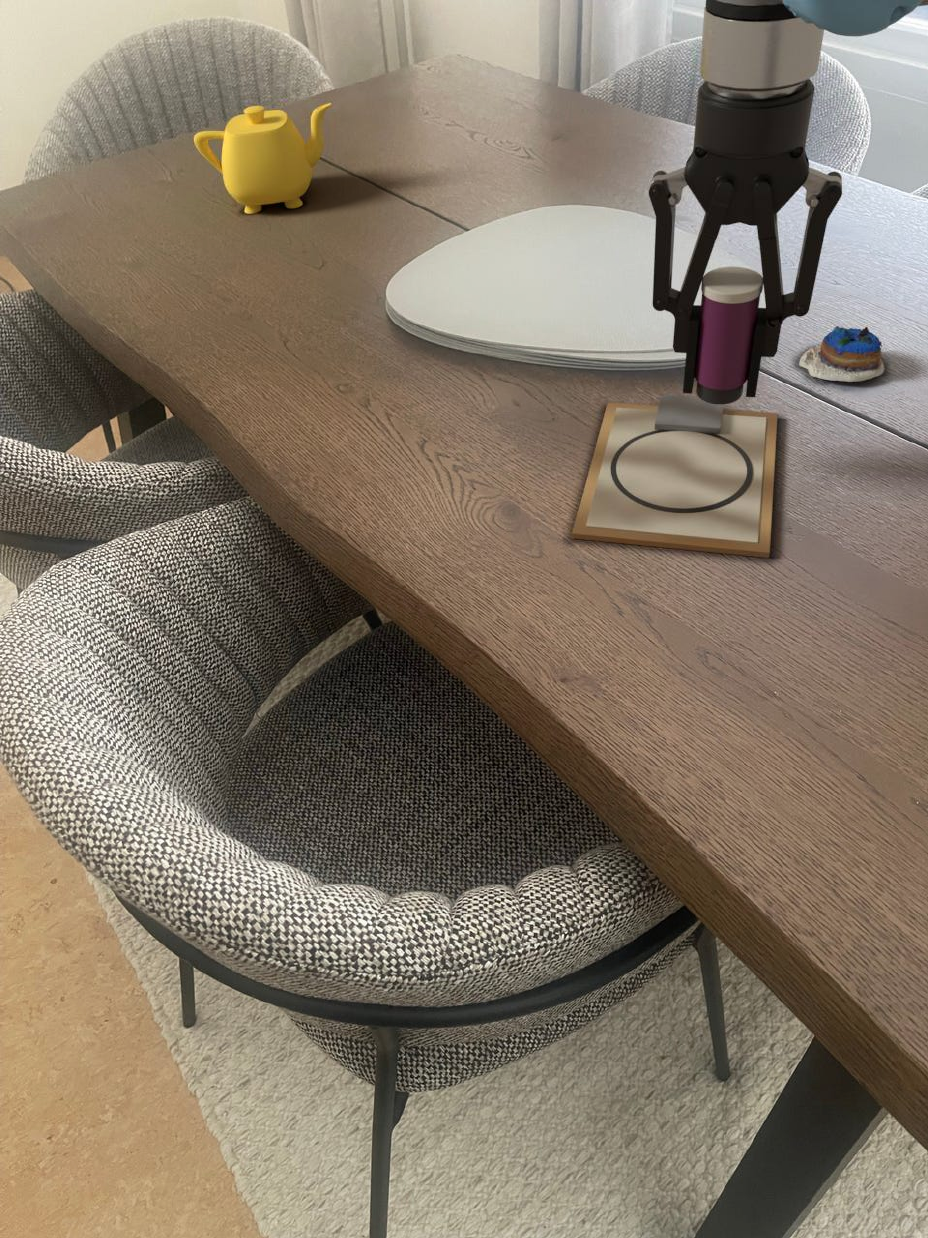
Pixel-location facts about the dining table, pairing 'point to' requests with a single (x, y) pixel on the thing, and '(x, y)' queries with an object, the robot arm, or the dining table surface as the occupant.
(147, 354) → the dining table surface
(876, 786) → the dining table surface
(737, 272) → the cylinder
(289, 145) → the teapot
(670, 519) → the sketch board
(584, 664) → the dining table surface
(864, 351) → the dessert
